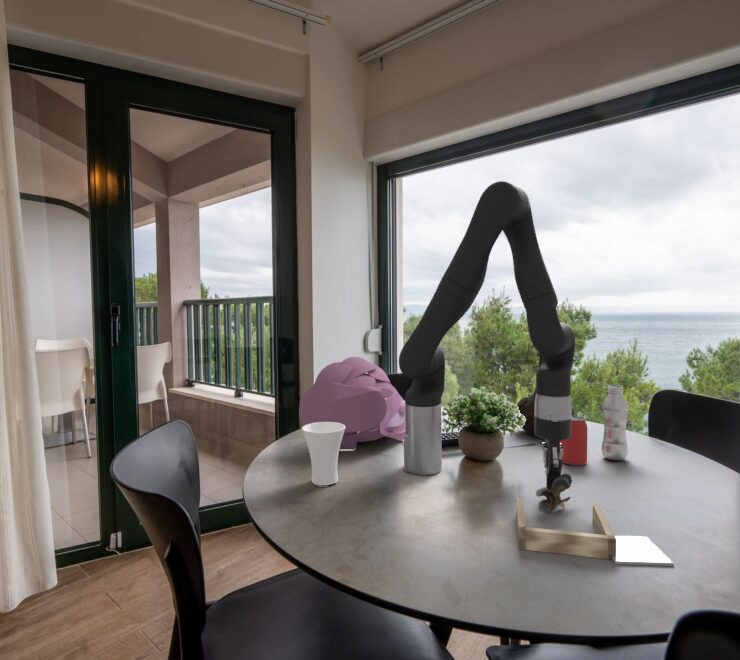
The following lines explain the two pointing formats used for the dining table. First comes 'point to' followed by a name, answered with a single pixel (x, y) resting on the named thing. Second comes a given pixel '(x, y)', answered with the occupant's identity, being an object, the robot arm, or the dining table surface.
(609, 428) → the plastic bottle
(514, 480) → the dining table surface
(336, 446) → the cup
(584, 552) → the frame
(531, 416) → the glass bottle
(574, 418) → the beer can
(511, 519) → the dining table surface
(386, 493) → the dining table surface
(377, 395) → the purple rounded folded piece
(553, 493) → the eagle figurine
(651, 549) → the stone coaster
